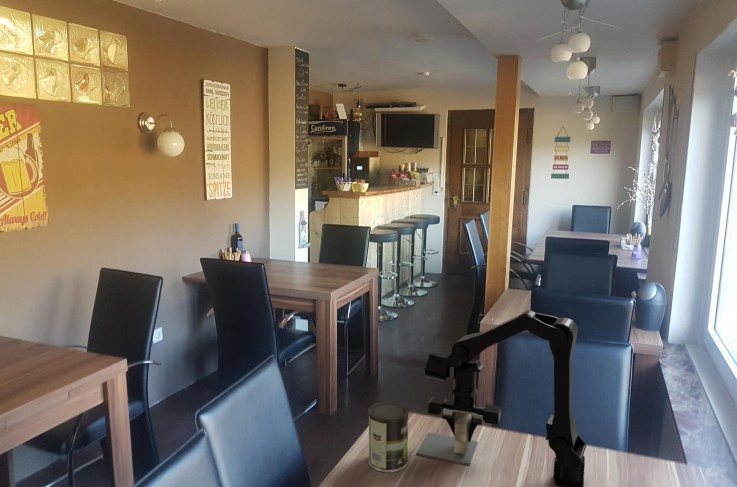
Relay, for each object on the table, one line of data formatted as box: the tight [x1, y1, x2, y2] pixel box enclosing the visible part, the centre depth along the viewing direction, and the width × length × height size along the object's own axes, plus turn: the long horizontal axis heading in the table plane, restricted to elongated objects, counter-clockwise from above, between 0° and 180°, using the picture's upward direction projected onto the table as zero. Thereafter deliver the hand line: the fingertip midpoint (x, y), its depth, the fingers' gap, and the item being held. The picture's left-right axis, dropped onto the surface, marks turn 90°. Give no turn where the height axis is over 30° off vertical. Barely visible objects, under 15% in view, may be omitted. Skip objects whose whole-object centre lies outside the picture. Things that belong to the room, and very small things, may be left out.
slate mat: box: [416, 431, 479, 466], centre depth 146 cm, size 14×12×1 cm
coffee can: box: [367, 401, 410, 473], centre depth 139 cm, size 10×10×14 cm
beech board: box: [454, 412, 473, 454], centre depth 144 cm, size 3×7×8 cm, turn 159°
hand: (463, 439), depth 144 cm, fingers closed on beech board, 3 cm apart
